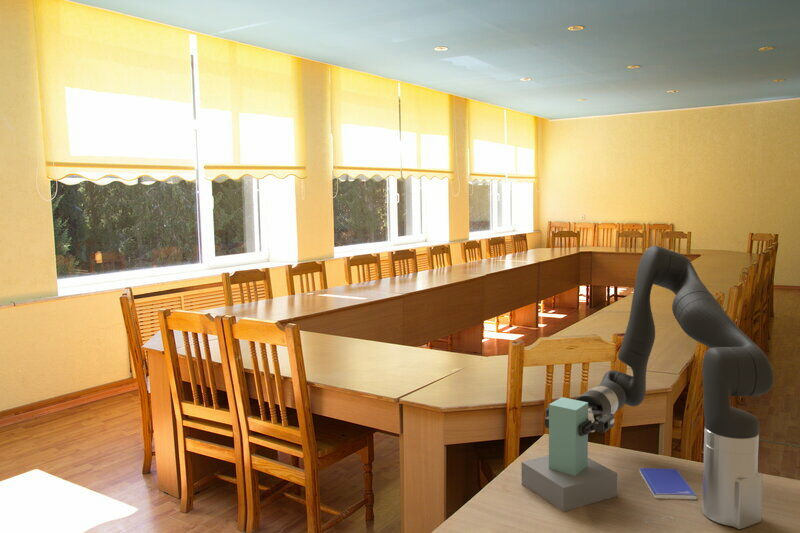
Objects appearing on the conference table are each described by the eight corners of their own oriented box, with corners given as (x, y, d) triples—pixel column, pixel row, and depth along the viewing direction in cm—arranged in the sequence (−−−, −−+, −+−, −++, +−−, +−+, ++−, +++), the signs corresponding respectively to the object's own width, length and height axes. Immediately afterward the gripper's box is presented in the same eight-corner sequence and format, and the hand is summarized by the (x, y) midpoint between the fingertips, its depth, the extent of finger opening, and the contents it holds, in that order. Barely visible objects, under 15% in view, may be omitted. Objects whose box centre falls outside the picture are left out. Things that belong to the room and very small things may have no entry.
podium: (617, 496, 132) (617, 473, 131) (563, 511, 126) (563, 487, 125) (572, 470, 144) (572, 449, 144) (521, 483, 138) (521, 461, 138)
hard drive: (696, 494, 129) (677, 468, 142) (655, 493, 130) (639, 467, 142) (696, 501, 129) (677, 475, 142) (655, 500, 130) (639, 474, 143)
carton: (587, 465, 135) (588, 402, 133) (575, 475, 130) (575, 410, 129) (561, 458, 139) (561, 397, 137) (548, 468, 134) (548, 404, 133)
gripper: (566, 384, 148) (532, 403, 136) (627, 395, 139) (596, 417, 127) (566, 415, 149) (532, 437, 137) (626, 428, 140) (596, 453, 127)
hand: (563, 427), depth 132 cm, fingers open, 7 cm apart
